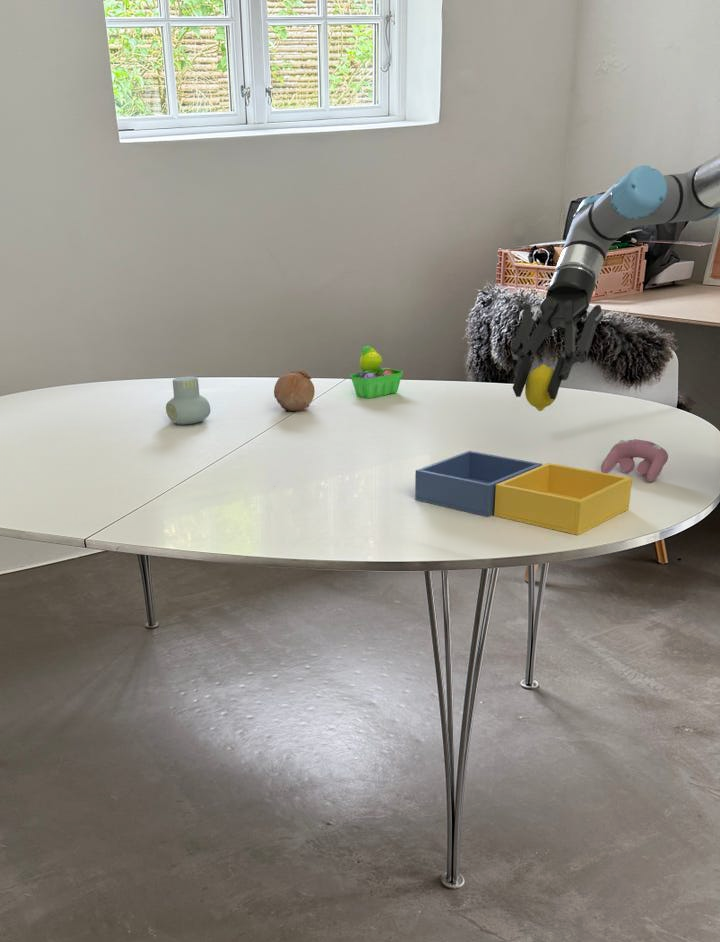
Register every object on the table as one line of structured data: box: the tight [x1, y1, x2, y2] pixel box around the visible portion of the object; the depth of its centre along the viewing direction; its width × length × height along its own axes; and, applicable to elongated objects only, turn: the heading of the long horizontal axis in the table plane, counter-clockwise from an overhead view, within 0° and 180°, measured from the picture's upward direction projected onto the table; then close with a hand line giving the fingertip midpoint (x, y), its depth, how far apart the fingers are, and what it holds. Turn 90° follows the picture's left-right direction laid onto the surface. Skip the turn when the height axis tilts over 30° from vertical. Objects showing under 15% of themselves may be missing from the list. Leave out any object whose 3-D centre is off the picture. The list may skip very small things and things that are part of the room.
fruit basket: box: [349, 345, 404, 399], centre depth 233 cm, size 11×9×11 cm
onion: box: [273, 369, 316, 413], centre depth 224 cm, size 10×9×10 cm
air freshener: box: [165, 375, 211, 426], centre depth 220 cm, size 11×8×10 cm
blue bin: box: [414, 450, 543, 517], centre depth 157 cm, size 15×15×5 cm
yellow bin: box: [493, 462, 633, 536], centre depth 147 cm, size 15×15×5 cm
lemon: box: [524, 363, 559, 412], centre depth 164 cm, size 6×6×8 cm
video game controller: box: [600, 438, 669, 483], centre depth 162 cm, size 10×5×7 cm, turn 41°
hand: (533, 393), depth 162 cm, fingers closed on lemon, 5 cm apart
